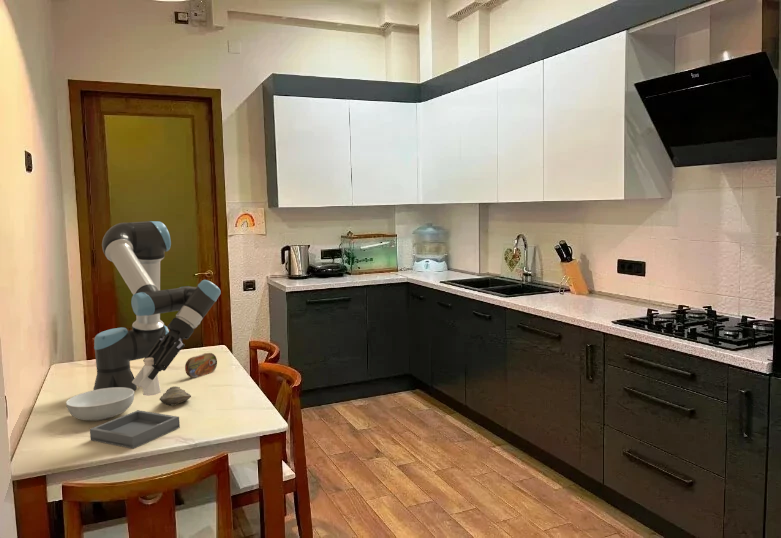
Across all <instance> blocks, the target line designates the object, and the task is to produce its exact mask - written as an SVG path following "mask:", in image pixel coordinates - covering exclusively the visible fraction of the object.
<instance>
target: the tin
mask: <svg viewBox="0 0 781 538" xmlns="http://www.w3.org/2000/svg"><path fill="white" fill-rule="evenodd" d="M217 359H218V358H217V356H216V355H215V354H214V353H212V352H205V353H202V354H198V355H196V356H192V357H190V358H188V359H187V361H186V362H185V365H184V370H185V374H186V375H187V376H188V377H190V378H194V379H197V378H200V377H203V376H205V375H209V374H211V373H213V372H214V371H215V370H216V368H217V365H218V360H217Z"/></svg>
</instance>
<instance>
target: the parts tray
mask: <svg viewBox="0 0 781 538" xmlns="http://www.w3.org/2000/svg"><path fill="white" fill-rule="evenodd" d="M180 428H181V425H180V416H177V415H169V414H164V413H159V412H158V413H157V412H151V411H145V410H140V409H139V410H136V411H135V410H134V411H132V412H130V413H126V414H125V415H121V416H119V417H117V418H114V419H112V420H109V421H107V422H104V423H102V424H99V425H96V426H94V427H91V428H89V435H90V436H89V438H90V441H93V442H98V443H101V444H106V445H107V444H108V445H112V446H118V447H122V448H127V449H132V450H134V449H136V448H138V447H141V446H143V445H145V444H147V443H149V442H151V441H154V440H156V439H158V438H160V437H162V436H165V435H167V434H169V433H172V432H173V431H175V430H177V429H180Z"/></svg>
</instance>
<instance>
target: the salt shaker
mask: <svg viewBox="0 0 781 538" xmlns="http://www.w3.org/2000/svg"><path fill="white" fill-rule="evenodd" d="M143 360H144V361H143V363H145V364H144V365H145V366H144V365H143V366H144V368H143V367H142V368H143V377H144V376H145V375H146V373H147V372H148V371H149V369H150V368H151V367H152V365H154V361H153V360H154V358H143ZM153 368H154V367H153ZM161 391H162V390H161V385H160V380H159V376H158V374H157V375H156V377H155V378H154V379H153V381H152V382H151V384H150V385H149V386H148V388H147V389H146V390H145V389H143V388H142V395H143V396H148V397H149V396H156V395H158V394H161Z"/></svg>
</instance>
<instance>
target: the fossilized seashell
mask: <svg viewBox="0 0 781 538" xmlns="http://www.w3.org/2000/svg"><path fill="white" fill-rule="evenodd" d="M191 397H192V395H191V394H190V393H188V392H186V390H184V389H182V388H180V386H171V387H169V388H168V389H166V391H165V392H164V393H163V394H162V395H161V396H160V398H159V401H160V402H161V403H162V404H164V405H166V406H176V405H178V404H181V403H184V402H186V401H189V400H190V398H191Z"/></svg>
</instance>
